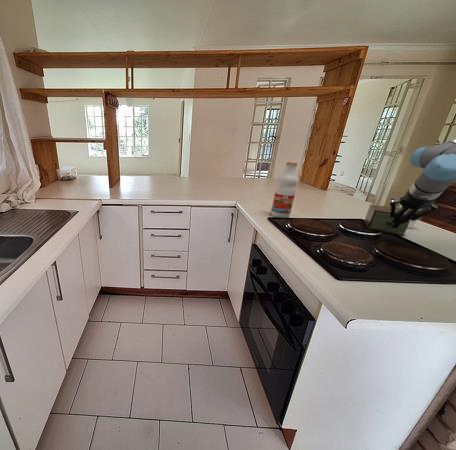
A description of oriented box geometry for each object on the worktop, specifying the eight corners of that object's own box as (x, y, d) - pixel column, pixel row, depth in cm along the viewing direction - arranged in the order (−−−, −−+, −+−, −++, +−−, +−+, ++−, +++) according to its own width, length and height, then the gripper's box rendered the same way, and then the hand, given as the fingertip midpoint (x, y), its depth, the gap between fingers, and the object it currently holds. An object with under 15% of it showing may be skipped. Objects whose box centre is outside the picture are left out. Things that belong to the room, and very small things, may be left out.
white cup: (400, 227, 117) (409, 208, 114) (388, 222, 124) (396, 204, 121) (418, 229, 116) (427, 210, 112) (405, 224, 123) (413, 205, 120)
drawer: (403, 235, 104) (411, 218, 101) (370, 229, 110) (376, 213, 107) (396, 226, 116) (402, 211, 113) (366, 221, 122) (371, 206, 119)
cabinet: (403, 235, 106) (412, 215, 103) (367, 229, 113) (374, 210, 109) (396, 227, 117) (403, 208, 114) (363, 221, 124) (370, 204, 121)
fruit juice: (289, 214, 130) (301, 162, 120) (289, 219, 122) (303, 164, 112) (270, 212, 134) (281, 161, 124) (269, 216, 126) (281, 162, 116)
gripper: (396, 198, 84) (373, 229, 103) (450, 204, 77) (414, 236, 96) (399, 181, 86) (375, 214, 105) (451, 186, 79) (416, 221, 98)
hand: (394, 225), depth 100 cm, fingers closed
